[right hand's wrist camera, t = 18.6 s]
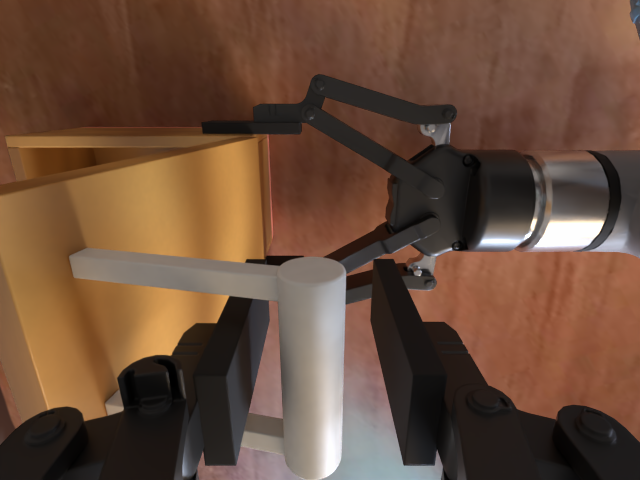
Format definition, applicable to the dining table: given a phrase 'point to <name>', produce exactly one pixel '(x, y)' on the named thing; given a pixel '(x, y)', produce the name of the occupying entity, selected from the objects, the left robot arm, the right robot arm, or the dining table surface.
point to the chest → (122, 153)
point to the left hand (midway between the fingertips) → (215, 201)
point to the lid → (162, 289)
